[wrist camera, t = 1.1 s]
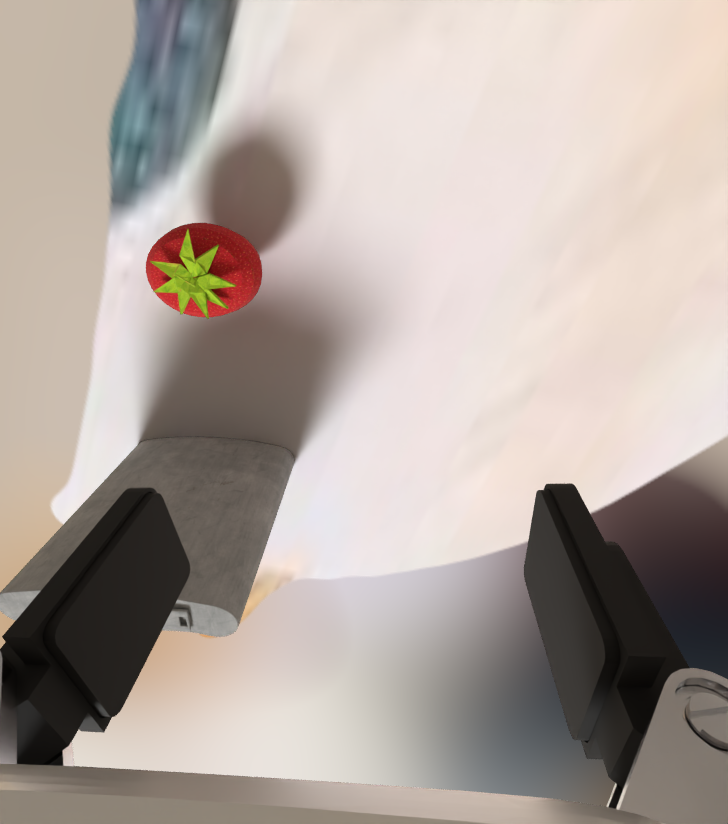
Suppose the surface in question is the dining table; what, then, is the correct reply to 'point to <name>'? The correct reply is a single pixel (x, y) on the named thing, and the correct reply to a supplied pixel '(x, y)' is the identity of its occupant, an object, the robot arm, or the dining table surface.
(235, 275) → the strawberry
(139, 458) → the hip flask
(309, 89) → the dining table surface
